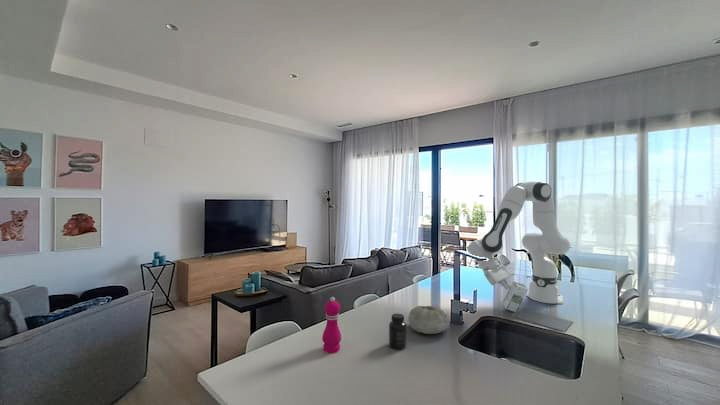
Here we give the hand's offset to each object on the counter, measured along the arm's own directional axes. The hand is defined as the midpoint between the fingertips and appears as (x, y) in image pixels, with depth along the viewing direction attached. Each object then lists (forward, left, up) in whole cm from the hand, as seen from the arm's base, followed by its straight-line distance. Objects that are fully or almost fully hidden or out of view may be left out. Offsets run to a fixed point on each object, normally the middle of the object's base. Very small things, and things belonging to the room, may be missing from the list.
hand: (508, 288), depth 155 cm
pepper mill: (+95, -30, -12) cm, 100 cm away
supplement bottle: (+74, -15, -12) cm, 76 cm away
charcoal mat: (0, +16, -12) cm, 20 cm away
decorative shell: (+52, -15, -12) cm, 56 cm away
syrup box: (0, +1, -11) cm, 11 cm away
